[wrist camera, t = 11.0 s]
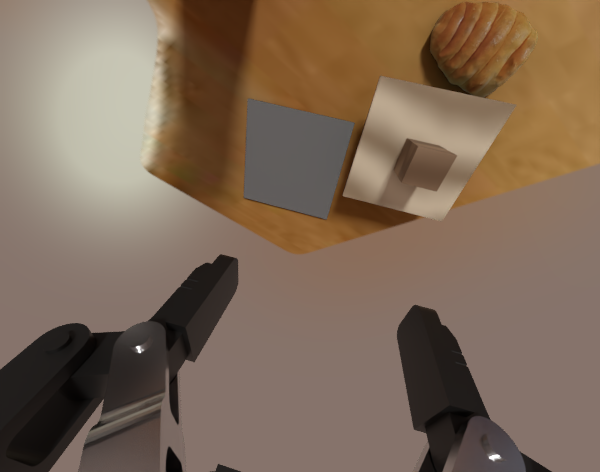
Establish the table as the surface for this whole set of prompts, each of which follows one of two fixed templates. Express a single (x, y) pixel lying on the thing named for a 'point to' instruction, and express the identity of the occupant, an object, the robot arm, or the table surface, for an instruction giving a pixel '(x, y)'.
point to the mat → (293, 157)
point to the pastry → (481, 45)
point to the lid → (421, 146)
